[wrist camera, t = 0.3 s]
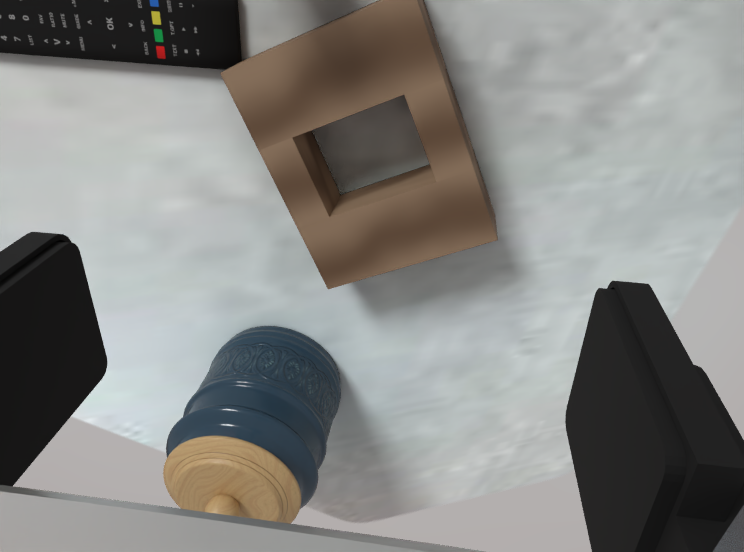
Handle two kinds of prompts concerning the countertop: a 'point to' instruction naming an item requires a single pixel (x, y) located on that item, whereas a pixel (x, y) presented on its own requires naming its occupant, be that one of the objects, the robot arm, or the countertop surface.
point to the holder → (346, 97)
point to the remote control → (125, 30)
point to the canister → (255, 428)
